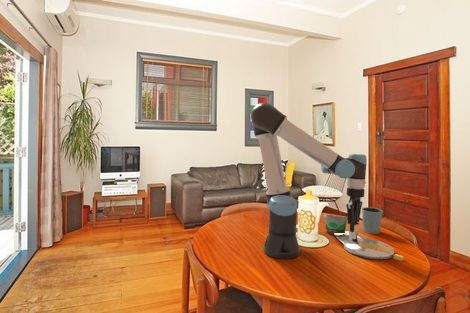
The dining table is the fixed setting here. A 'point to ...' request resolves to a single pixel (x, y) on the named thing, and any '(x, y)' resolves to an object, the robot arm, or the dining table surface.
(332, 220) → the food container
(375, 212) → the grey cup
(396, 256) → the index pointer
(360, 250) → the grey plate
